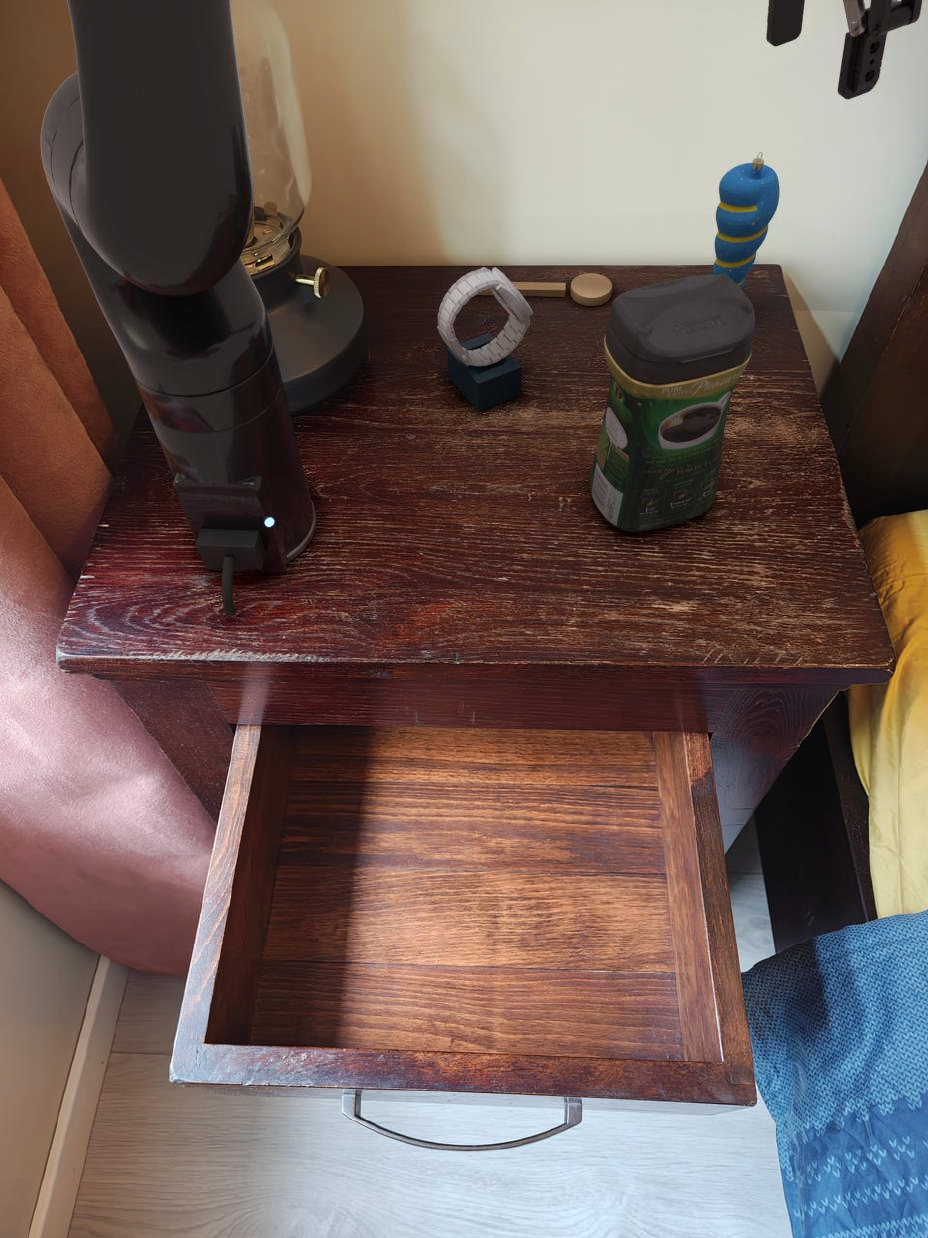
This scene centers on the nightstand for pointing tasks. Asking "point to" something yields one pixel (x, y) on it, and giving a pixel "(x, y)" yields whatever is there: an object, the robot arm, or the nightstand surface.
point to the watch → (485, 341)
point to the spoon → (583, 289)
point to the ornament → (744, 217)
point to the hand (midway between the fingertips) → (818, 66)
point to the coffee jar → (668, 398)
